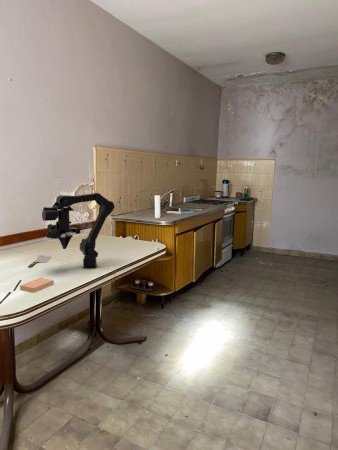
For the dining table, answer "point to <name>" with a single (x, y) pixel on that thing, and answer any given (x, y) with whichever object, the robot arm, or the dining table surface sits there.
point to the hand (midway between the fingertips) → (64, 248)
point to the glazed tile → (36, 285)
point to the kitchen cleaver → (40, 260)
